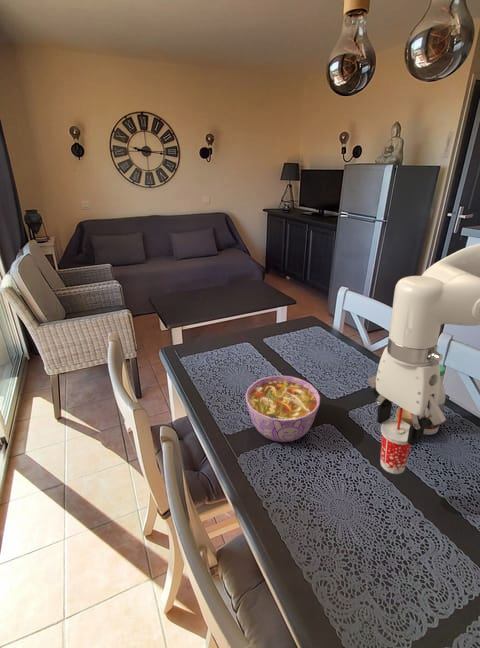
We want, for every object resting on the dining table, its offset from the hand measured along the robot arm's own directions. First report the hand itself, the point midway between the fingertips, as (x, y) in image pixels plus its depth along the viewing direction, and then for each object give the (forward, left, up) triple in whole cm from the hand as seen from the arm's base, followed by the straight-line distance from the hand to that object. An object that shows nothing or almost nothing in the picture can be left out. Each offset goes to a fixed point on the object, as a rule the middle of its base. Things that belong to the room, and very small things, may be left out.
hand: (398, 429), depth 69 cm
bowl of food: (+22, -24, -22) cm, 39 cm away
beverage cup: (0, 0, -9) cm, 9 cm away
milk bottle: (-17, -27, -22) cm, 39 cm away
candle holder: (-10, -22, -22) cm, 33 cm away
